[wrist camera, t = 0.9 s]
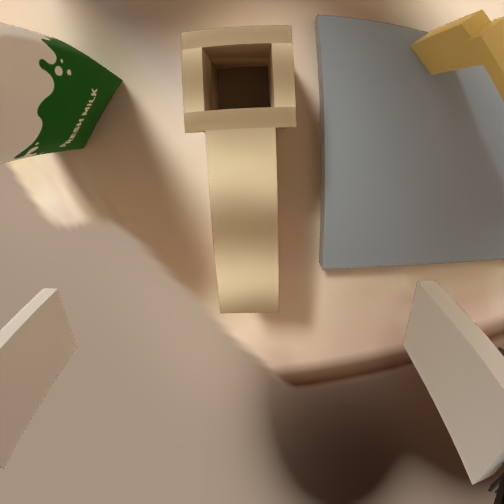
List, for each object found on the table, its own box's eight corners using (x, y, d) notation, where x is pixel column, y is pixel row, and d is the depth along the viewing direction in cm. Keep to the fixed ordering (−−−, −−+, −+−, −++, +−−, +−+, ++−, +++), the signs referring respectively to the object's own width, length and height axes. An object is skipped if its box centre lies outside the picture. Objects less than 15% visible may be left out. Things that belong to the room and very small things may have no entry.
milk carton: (86, 162, 24) (-108, 238, 6) (26, 119, 23) (-147, 153, 4) (136, 75, 22) (-64, 22, 3) (68, 39, 20) (-106, 0, 1)
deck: (314, 18, 20) (348, -42, 10) (536, 77, 19) (603, 79, 9) (319, 262, 28) (349, 335, 18) (525, 252, 27) (582, 292, 17)
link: (201, 56, 21) (181, 32, 15) (282, 52, 21) (291, 25, 15) (215, 270, 28) (203, 313, 22) (287, 268, 28) (296, 311, 21)
